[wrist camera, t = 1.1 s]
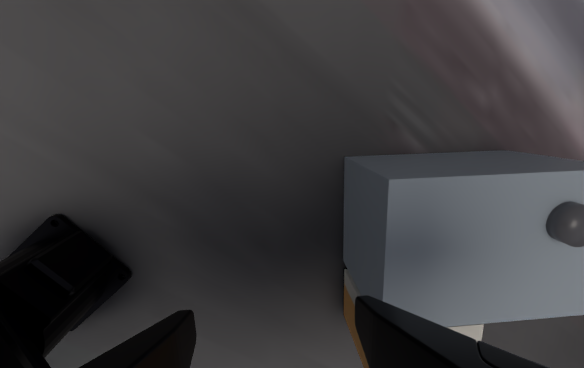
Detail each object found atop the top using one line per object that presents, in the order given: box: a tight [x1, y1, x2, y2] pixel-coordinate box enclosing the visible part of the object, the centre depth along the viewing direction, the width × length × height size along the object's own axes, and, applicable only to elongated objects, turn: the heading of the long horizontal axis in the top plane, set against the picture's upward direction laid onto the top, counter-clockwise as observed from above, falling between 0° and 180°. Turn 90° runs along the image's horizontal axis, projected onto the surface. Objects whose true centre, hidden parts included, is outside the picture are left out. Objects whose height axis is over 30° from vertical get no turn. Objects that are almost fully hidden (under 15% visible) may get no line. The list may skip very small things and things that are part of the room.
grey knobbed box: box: [343, 150, 584, 327], centre depth 17 cm, size 14×8×8 cm, turn 92°
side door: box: [344, 269, 484, 368], centre depth 18 cm, size 6×4×8 cm, turn 92°
